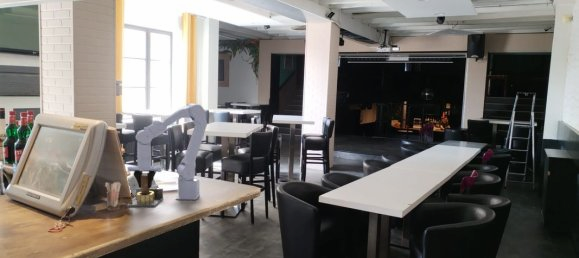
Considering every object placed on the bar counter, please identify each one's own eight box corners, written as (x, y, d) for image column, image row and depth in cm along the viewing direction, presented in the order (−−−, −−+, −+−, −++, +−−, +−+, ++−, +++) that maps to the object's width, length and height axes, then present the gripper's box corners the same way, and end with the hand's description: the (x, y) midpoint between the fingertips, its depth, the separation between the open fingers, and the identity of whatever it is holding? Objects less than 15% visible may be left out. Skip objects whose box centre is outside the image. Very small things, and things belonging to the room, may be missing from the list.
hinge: (133, 196, 199) (127, 176, 199) (126, 198, 201) (121, 178, 202) (159, 188, 214) (153, 169, 214) (153, 190, 216) (147, 171, 216)
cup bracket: (163, 199, 196) (162, 188, 195) (155, 207, 184) (154, 196, 183) (137, 198, 196) (136, 188, 195) (127, 206, 184) (126, 195, 183)
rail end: (150, 194, 191) (149, 174, 190) (148, 196, 188) (147, 176, 186) (142, 194, 191) (141, 174, 189) (140, 196, 187) (139, 176, 186)
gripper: (124, 158, 183) (125, 189, 185) (158, 159, 183) (158, 190, 185) (130, 155, 190) (131, 185, 192) (162, 156, 190) (163, 185, 192)
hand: (145, 187), depth 189 cm, fingers closed on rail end, 3 cm apart
